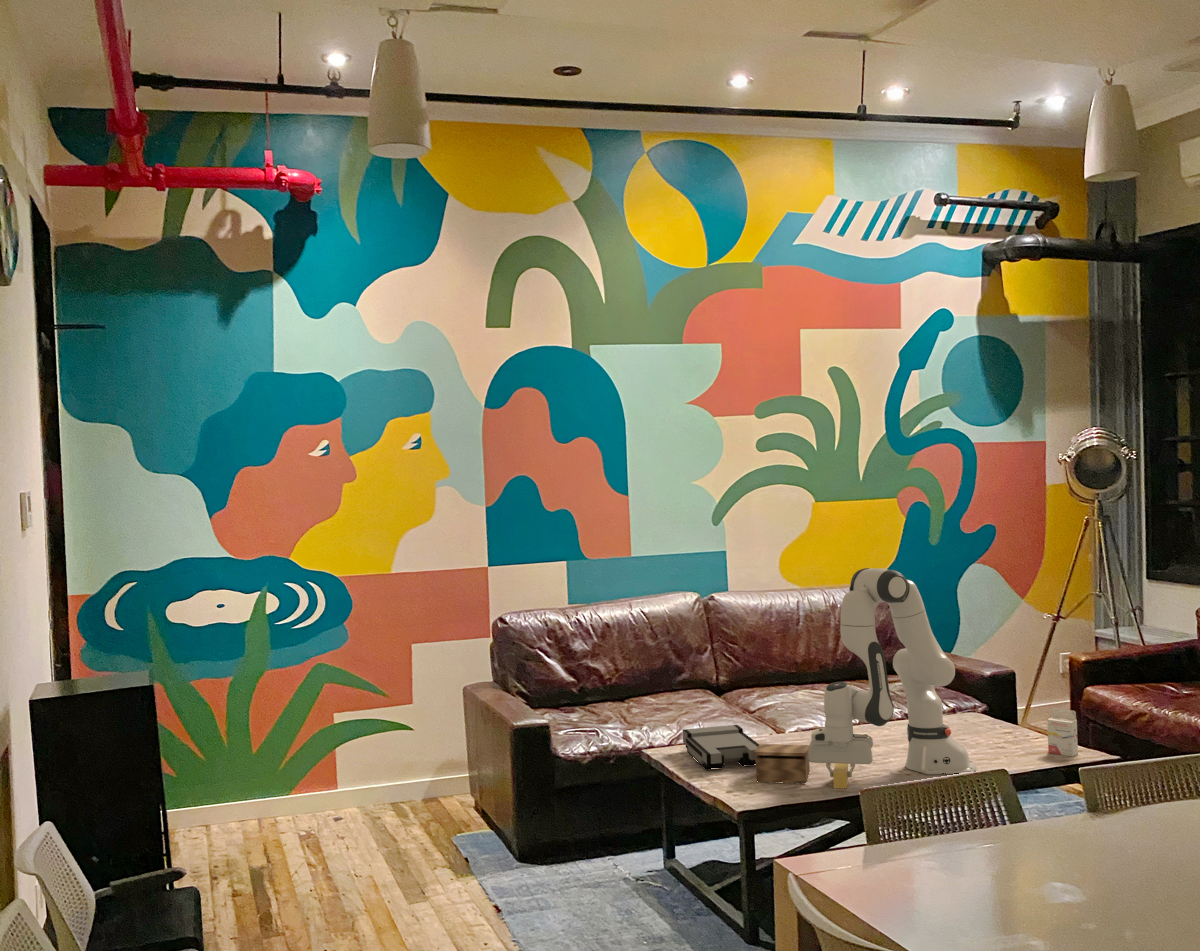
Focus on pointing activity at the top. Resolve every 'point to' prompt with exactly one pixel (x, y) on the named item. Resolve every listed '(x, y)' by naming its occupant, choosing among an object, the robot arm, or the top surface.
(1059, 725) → the ink cartridge box
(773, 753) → the box lid
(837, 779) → the yellow block
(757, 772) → the wooden box
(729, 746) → the game console
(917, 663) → the robot arm
